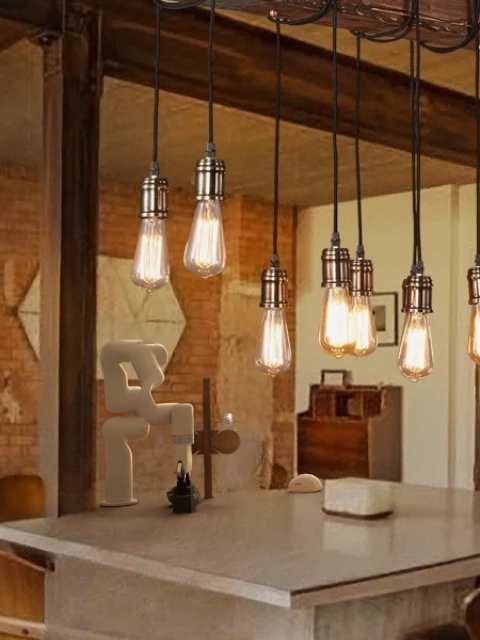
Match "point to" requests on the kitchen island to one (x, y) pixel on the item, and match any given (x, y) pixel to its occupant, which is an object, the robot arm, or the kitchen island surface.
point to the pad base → (184, 509)
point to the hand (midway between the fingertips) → (183, 492)
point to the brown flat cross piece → (212, 440)
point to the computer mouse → (305, 484)
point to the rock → (196, 494)
